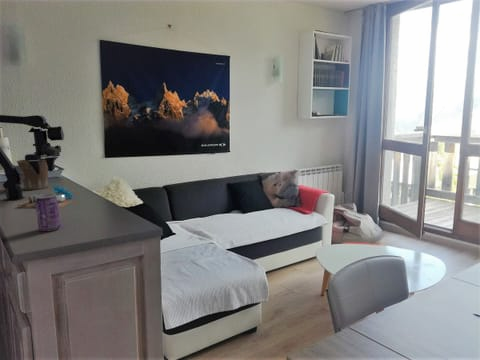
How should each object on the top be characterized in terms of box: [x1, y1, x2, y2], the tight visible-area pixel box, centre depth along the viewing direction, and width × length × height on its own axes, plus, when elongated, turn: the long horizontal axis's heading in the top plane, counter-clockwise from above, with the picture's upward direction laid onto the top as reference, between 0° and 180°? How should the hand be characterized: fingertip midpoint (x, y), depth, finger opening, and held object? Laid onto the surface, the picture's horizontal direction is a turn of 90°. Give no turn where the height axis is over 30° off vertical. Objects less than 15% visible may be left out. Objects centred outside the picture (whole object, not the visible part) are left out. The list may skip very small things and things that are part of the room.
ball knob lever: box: [31, 193, 66, 203], centre depth 179 cm, size 16×4×3 cm, turn 80°
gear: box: [52, 185, 74, 199], centre depth 188 cm, size 11×6×10 cm
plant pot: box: [16, 157, 49, 191], centre depth 223 cm, size 16×16×16 cm
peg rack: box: [17, 195, 73, 209], centre depth 179 cm, size 20×10×4 cm, turn 80°
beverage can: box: [35, 193, 62, 232], centre depth 138 cm, size 7×7×12 cm
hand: (44, 172), depth 197 cm, fingers open, 9 cm apart
